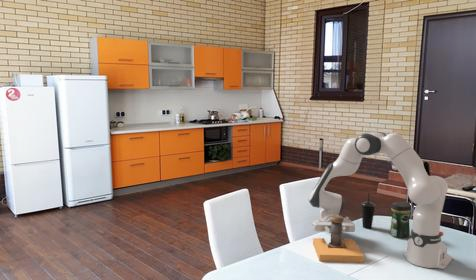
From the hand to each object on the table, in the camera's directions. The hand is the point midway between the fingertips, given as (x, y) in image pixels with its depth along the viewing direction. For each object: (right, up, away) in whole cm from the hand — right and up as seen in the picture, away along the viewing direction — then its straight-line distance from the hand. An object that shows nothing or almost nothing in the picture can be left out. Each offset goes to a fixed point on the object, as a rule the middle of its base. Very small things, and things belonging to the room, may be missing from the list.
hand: (336, 231), depth 187 cm
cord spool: (0, -8, +2) cm, 8 cm away
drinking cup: (+26, -6, +34) cm, 43 cm away
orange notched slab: (0, -10, -1) cm, 10 cm away
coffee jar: (+39, -7, +21) cm, 45 cm away
